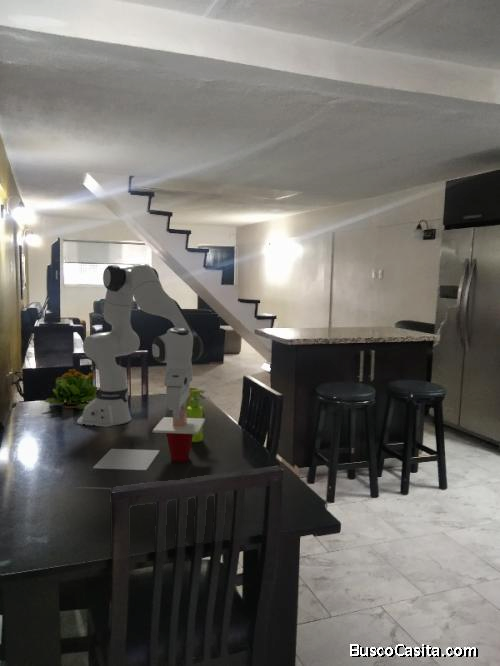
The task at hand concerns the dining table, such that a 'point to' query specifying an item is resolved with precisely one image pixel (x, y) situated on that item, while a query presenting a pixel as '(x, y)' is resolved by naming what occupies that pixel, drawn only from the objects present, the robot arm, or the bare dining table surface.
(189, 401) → the plant pot
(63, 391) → the potted flower
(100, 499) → the dining table surface
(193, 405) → the soap dispenser
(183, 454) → the plastic cup
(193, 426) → the lid
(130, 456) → the mat
